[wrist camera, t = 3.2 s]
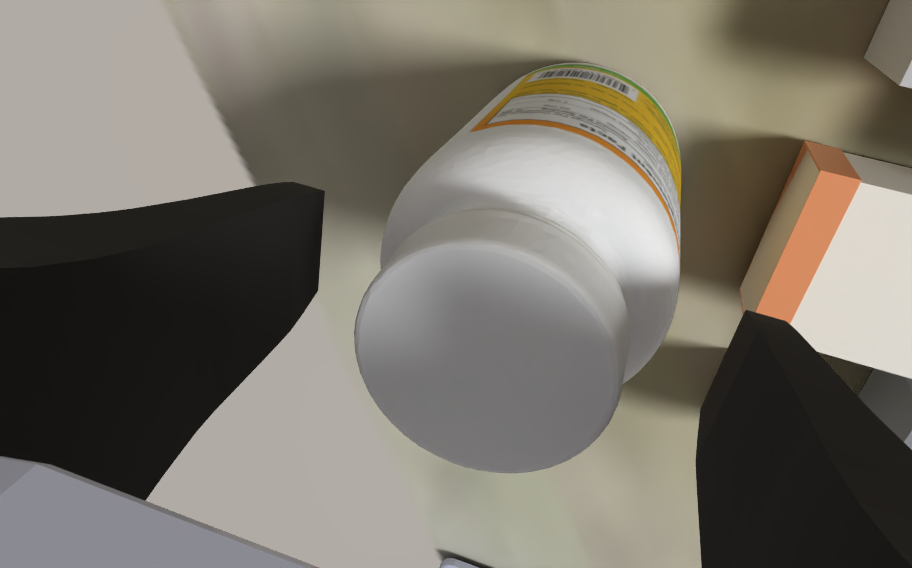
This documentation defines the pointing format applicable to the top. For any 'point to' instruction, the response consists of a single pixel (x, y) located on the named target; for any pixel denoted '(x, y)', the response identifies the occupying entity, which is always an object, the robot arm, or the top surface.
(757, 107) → the top surface
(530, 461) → the supplement bottle
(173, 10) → the top surface
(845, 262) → the orange-ended white block
